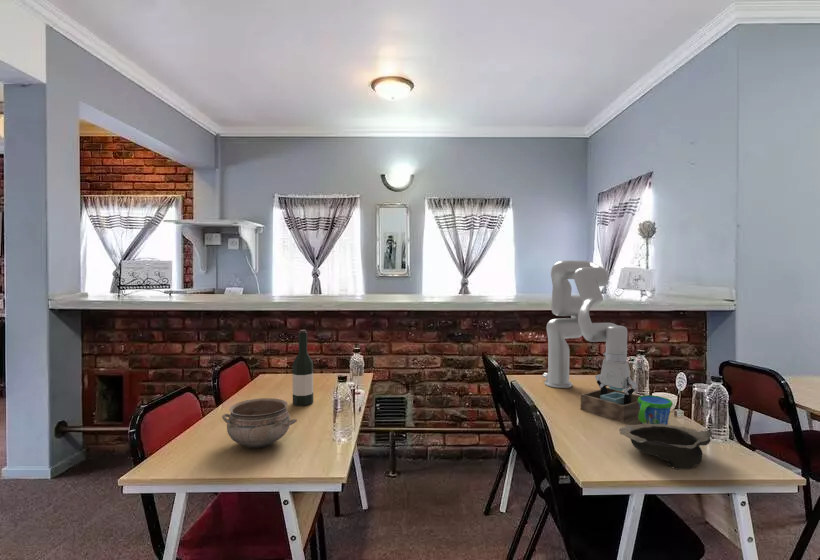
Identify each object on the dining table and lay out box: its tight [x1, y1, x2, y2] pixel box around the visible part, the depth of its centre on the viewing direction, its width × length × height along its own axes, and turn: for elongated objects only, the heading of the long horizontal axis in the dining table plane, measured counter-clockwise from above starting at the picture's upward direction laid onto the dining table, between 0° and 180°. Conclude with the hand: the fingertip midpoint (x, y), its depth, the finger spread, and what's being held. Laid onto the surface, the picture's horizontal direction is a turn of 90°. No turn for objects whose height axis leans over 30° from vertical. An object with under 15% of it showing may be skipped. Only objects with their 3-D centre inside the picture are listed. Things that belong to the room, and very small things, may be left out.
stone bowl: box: [618, 423, 713, 469], centre depth 137 cm, size 25×25×9 cm
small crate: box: [600, 392, 625, 405], centre depth 178 cm, size 6×10×6 cm, turn 123°
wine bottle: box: [292, 329, 314, 407], centre depth 187 cm, size 8×8×30 cm
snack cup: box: [637, 395, 674, 425], centre depth 160 cm, size 16×10×10 cm
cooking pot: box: [221, 397, 298, 450], centre depth 144 cm, size 25×19×12 cm
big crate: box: [580, 387, 640, 423], centre depth 178 cm, size 18×18×6 cm
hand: (615, 401), depth 178 cm, fingers open, 9 cm apart
